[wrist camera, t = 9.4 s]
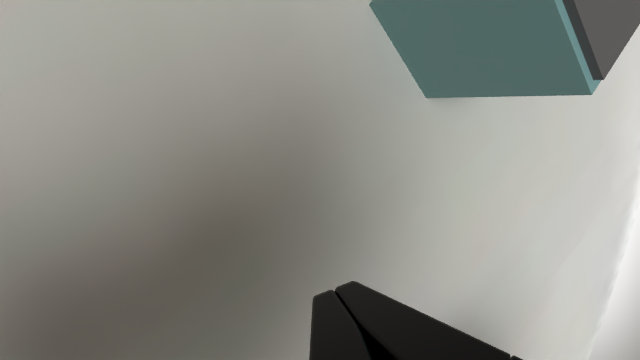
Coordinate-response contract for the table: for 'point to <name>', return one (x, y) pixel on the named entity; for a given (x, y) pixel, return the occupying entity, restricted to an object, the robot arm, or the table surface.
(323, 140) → the table surface
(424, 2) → the teal box
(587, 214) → the table surface
